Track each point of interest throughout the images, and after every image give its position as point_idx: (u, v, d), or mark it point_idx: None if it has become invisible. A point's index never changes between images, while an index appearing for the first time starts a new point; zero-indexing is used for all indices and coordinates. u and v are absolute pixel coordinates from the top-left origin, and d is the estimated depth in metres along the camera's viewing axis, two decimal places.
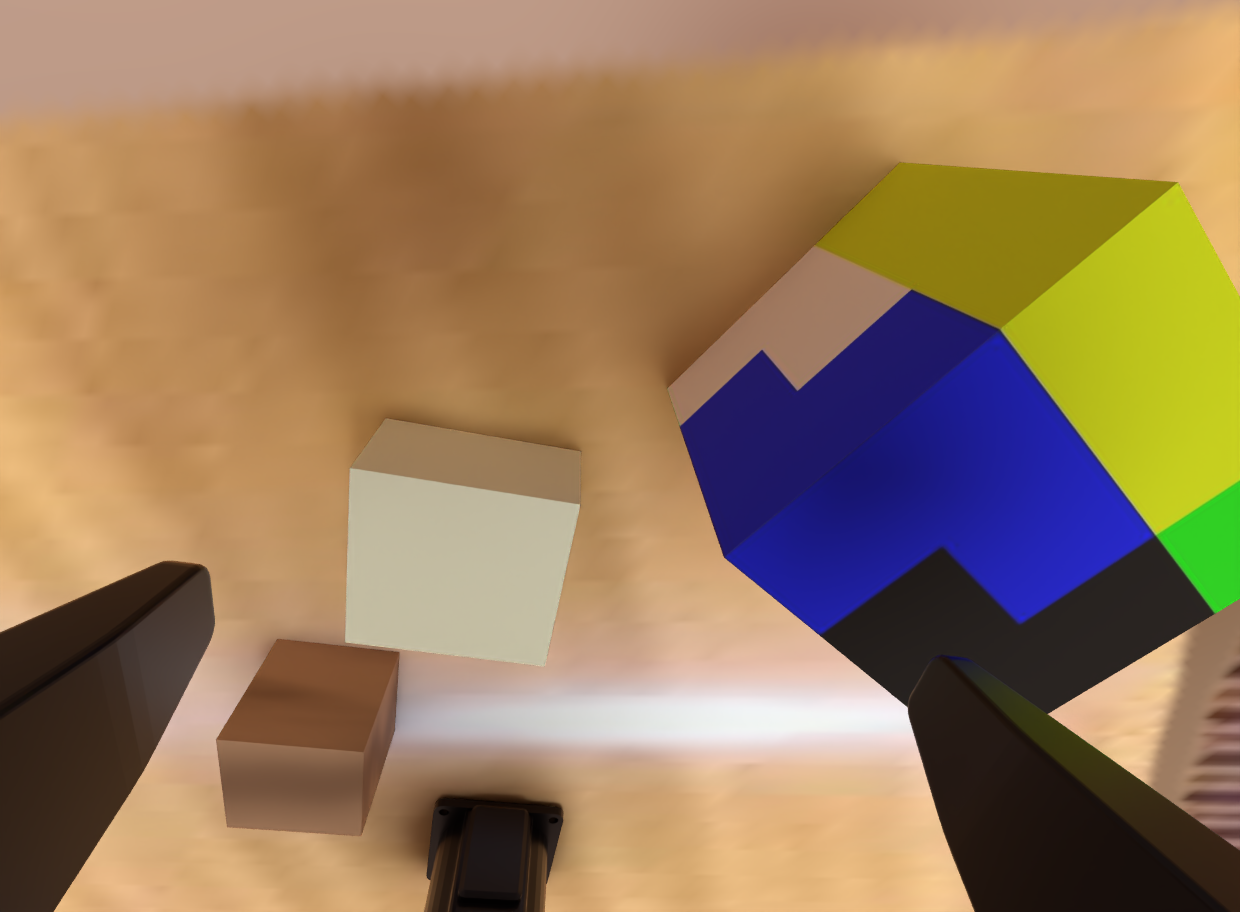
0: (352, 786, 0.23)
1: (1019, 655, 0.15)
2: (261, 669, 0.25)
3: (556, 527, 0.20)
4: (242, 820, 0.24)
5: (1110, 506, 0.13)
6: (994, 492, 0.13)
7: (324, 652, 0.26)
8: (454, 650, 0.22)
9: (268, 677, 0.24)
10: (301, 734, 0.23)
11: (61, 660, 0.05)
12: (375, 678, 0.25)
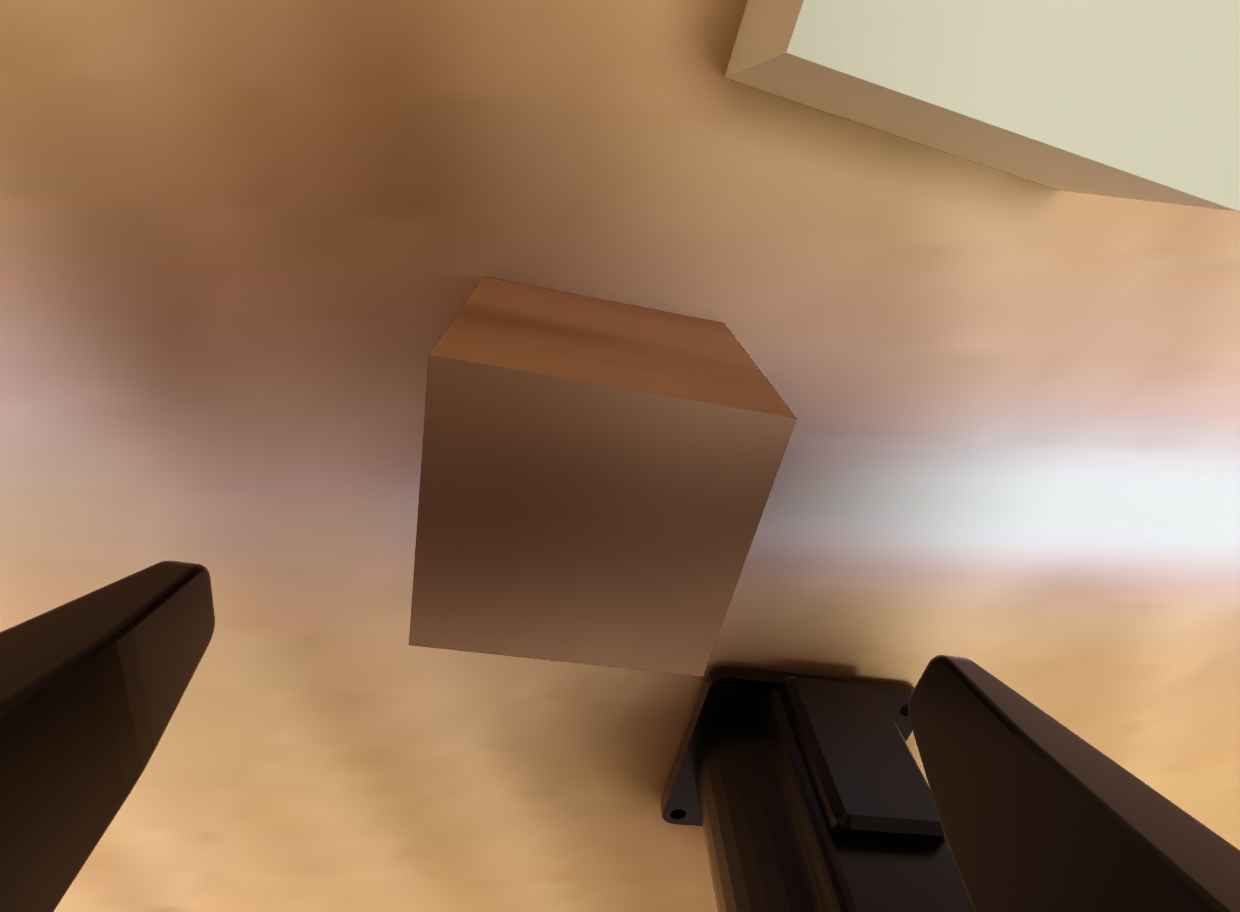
0: (732, 530, 0.09)
1: None
2: (474, 296, 0.11)
3: None
4: (448, 626, 0.10)
5: None
6: None
7: (584, 301, 0.12)
8: (1055, 123, 0.08)
9: (496, 306, 0.11)
10: (629, 377, 0.09)
11: (61, 660, 0.05)
12: (712, 340, 0.11)
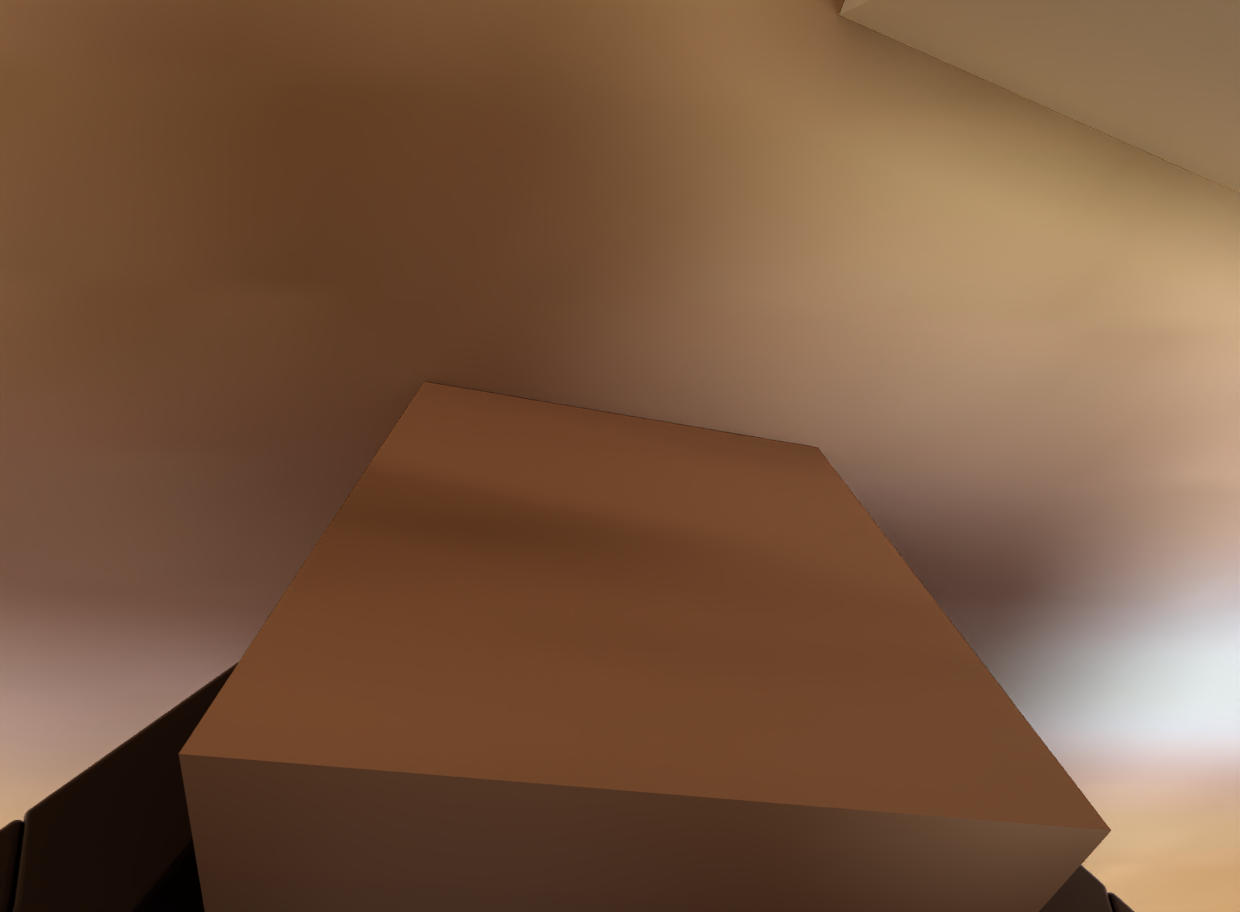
0: None
1: None
2: (391, 447, 0.06)
3: None
4: None
5: None
6: None
7: (594, 427, 0.07)
8: None
9: (427, 473, 0.06)
10: (705, 721, 0.04)
11: None
12: (820, 507, 0.06)
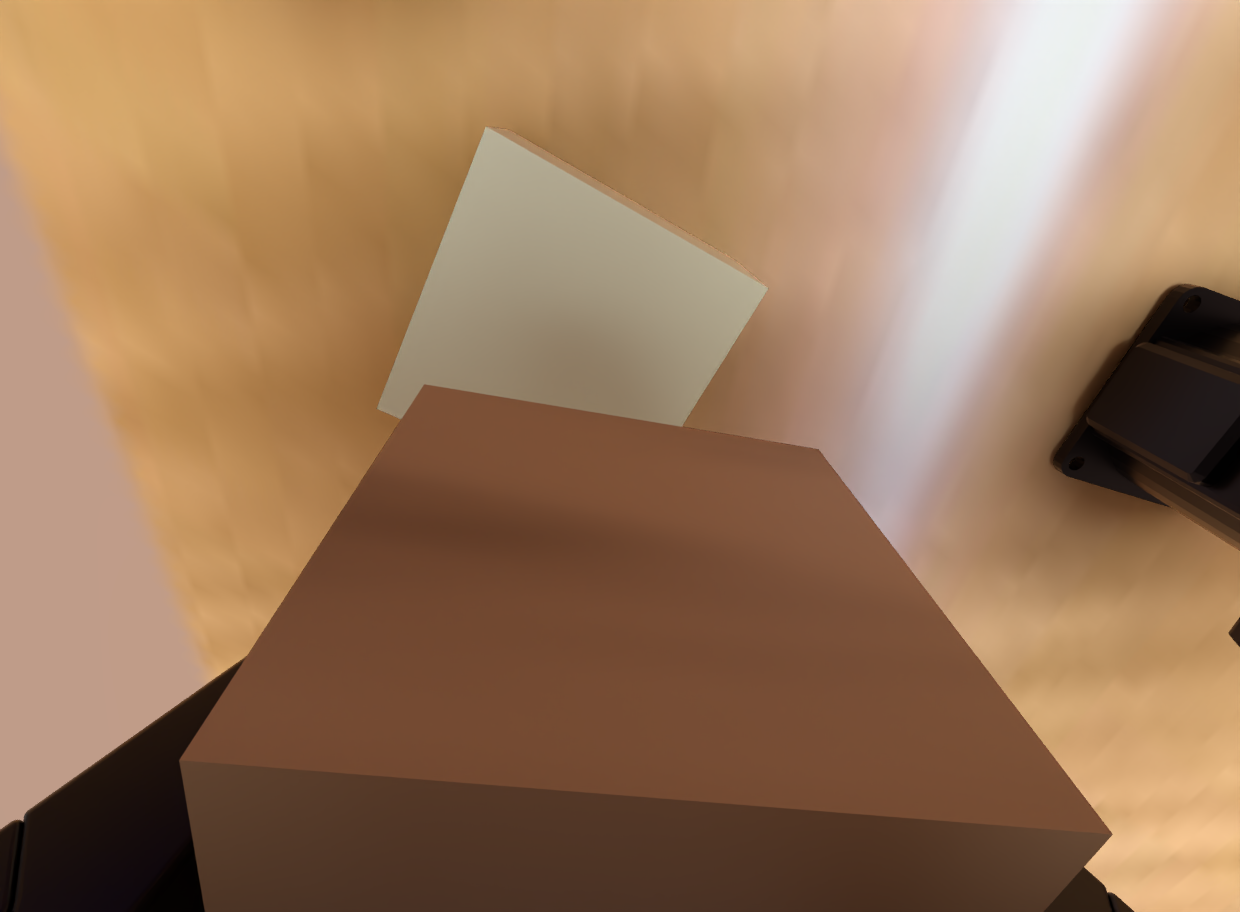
0: None
1: None
2: (391, 451, 0.06)
3: (518, 178, 0.13)
4: None
5: None
6: None
7: (594, 430, 0.07)
8: (687, 400, 0.15)
9: (428, 476, 0.06)
10: (707, 724, 0.04)
11: None
12: (821, 510, 0.06)
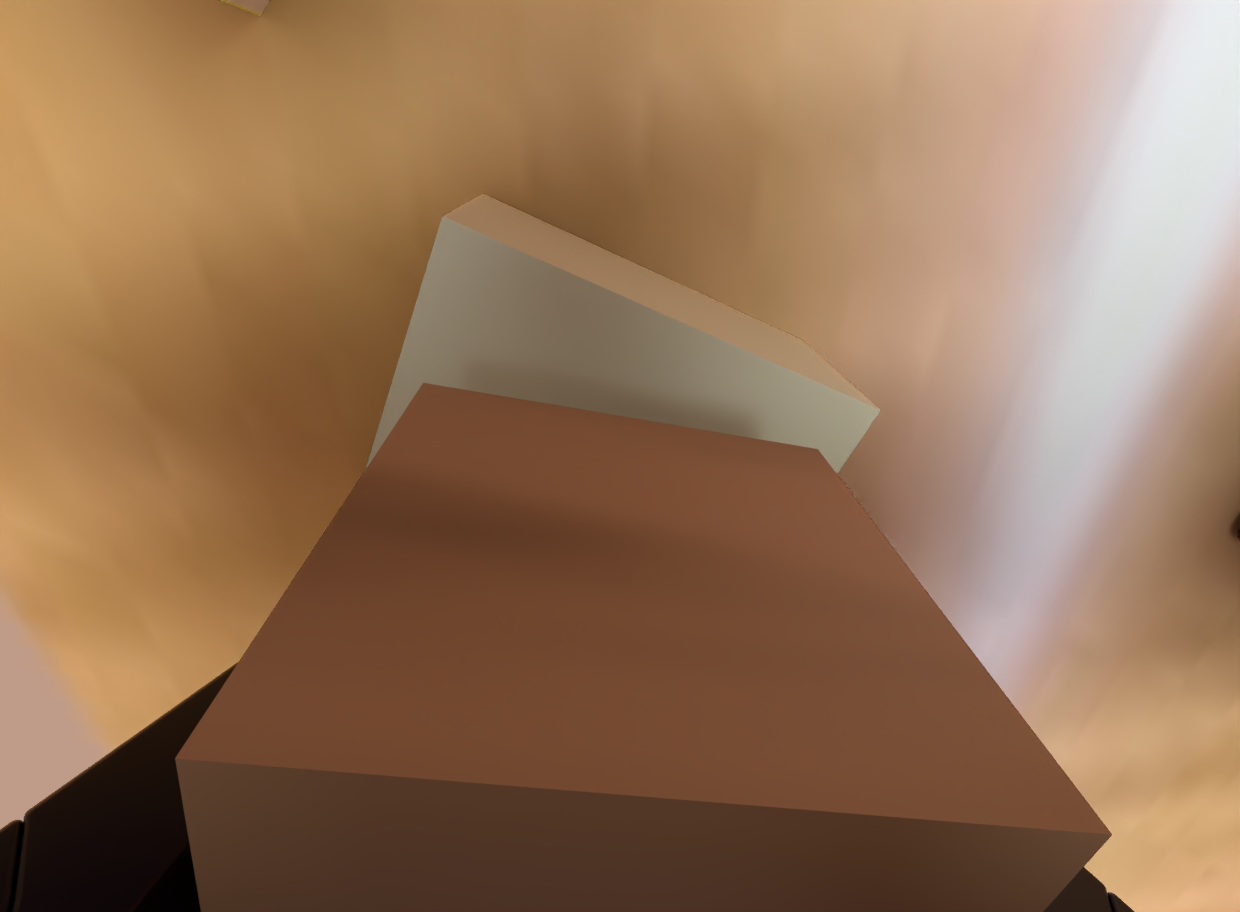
0: None
1: None
2: (390, 449, 0.06)
3: (499, 288, 0.08)
4: None
5: None
6: None
7: (594, 428, 0.07)
8: None
9: (426, 474, 0.06)
10: (705, 723, 0.04)
11: None
12: (820, 509, 0.06)
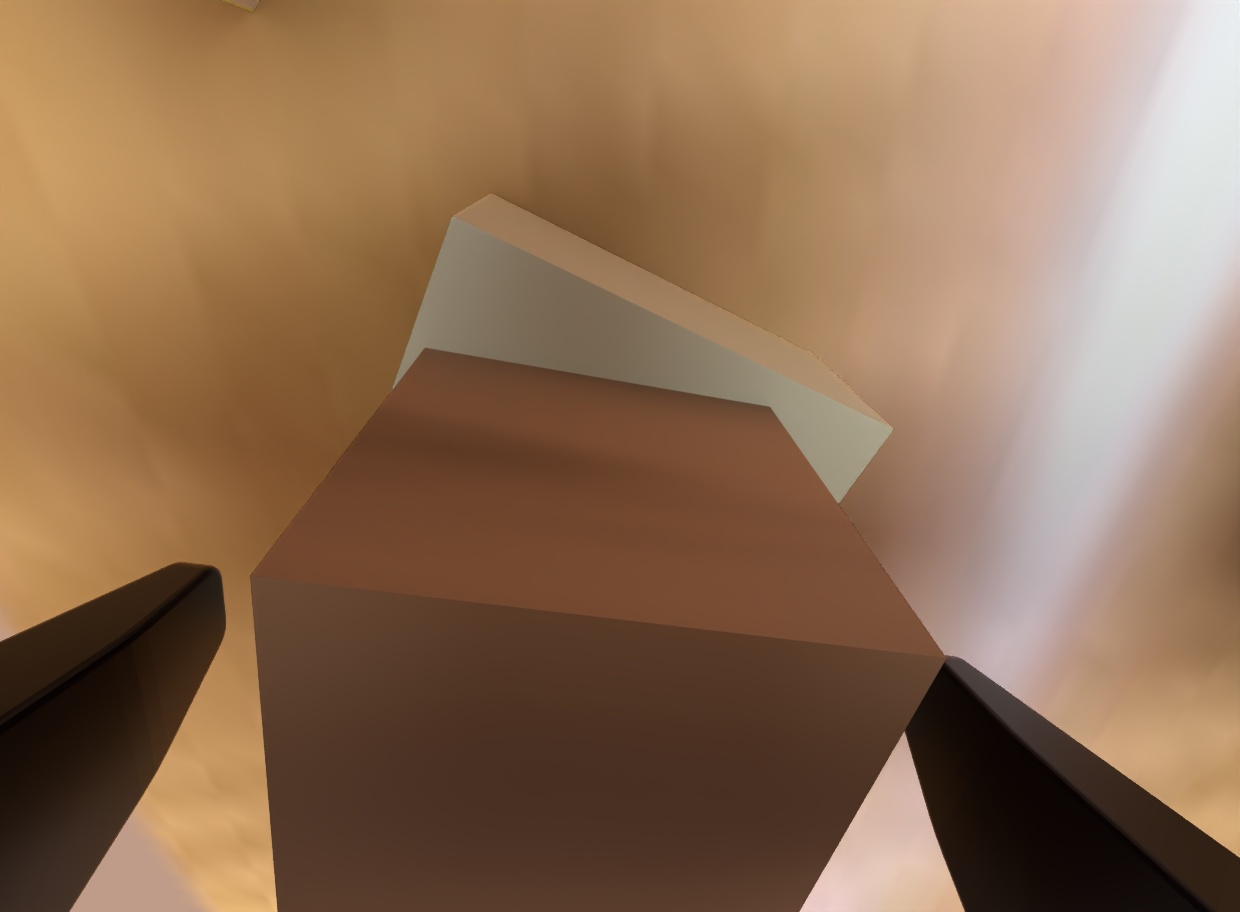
0: (816, 815, 0.06)
1: None
2: (397, 394, 0.07)
3: (508, 292, 0.08)
4: None
5: None
6: None
7: (572, 385, 0.08)
8: None
9: (428, 413, 0.07)
10: (640, 578, 0.05)
11: (77, 662, 0.05)
12: (762, 449, 0.08)
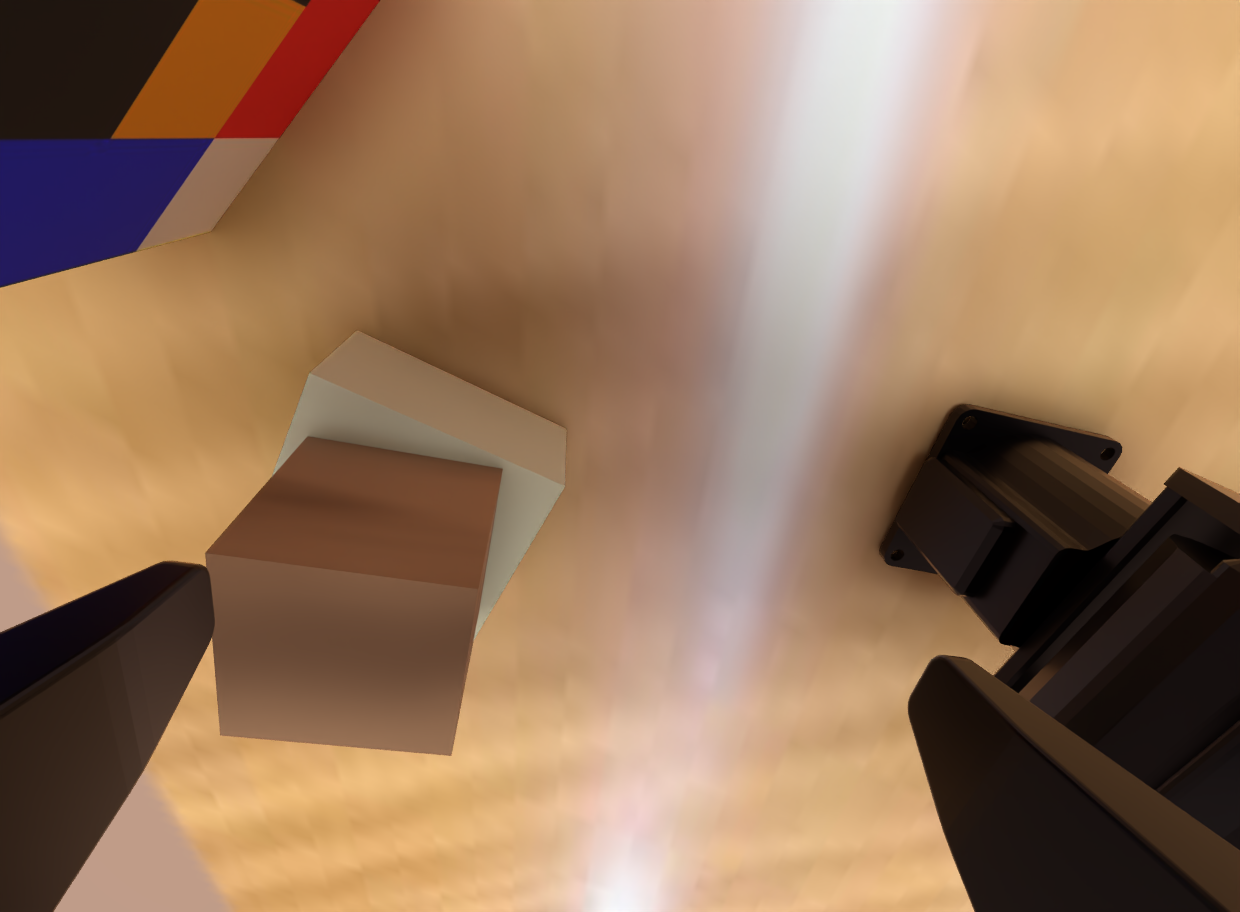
0: (449, 659, 0.13)
1: None
2: (282, 469, 0.14)
3: (341, 409, 0.16)
4: (248, 722, 0.13)
5: None
6: None
7: (384, 458, 0.16)
8: (507, 568, 0.18)
9: (295, 480, 0.14)
10: (362, 557, 0.12)
11: (61, 660, 0.05)
12: (473, 496, 0.15)
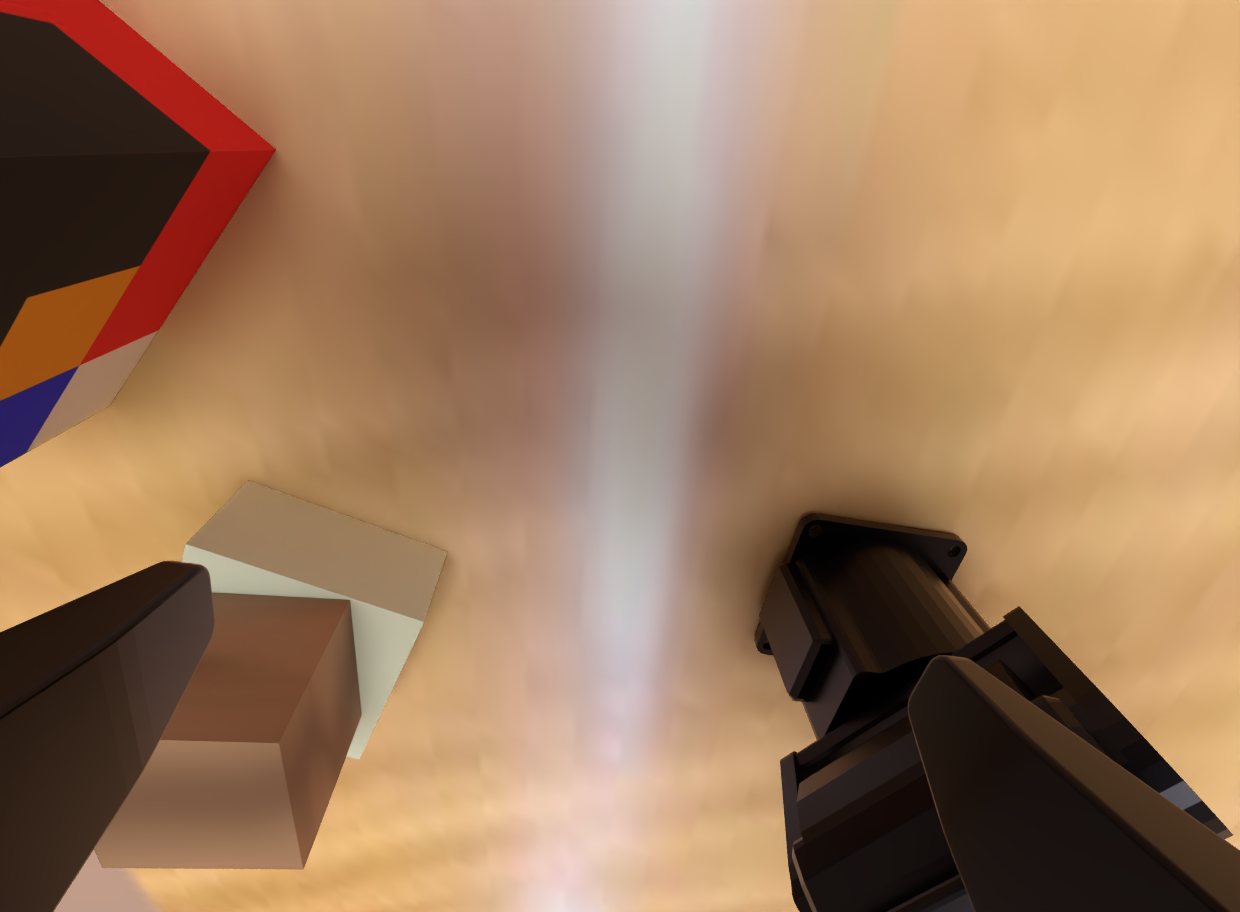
0: (273, 796, 0.15)
1: None
2: None
3: (217, 570, 0.18)
4: (122, 857, 0.16)
5: None
6: None
7: (238, 606, 0.18)
8: (384, 688, 0.20)
9: None
10: (183, 722, 0.15)
11: (61, 660, 0.05)
12: (310, 637, 0.17)
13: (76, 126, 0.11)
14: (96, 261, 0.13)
